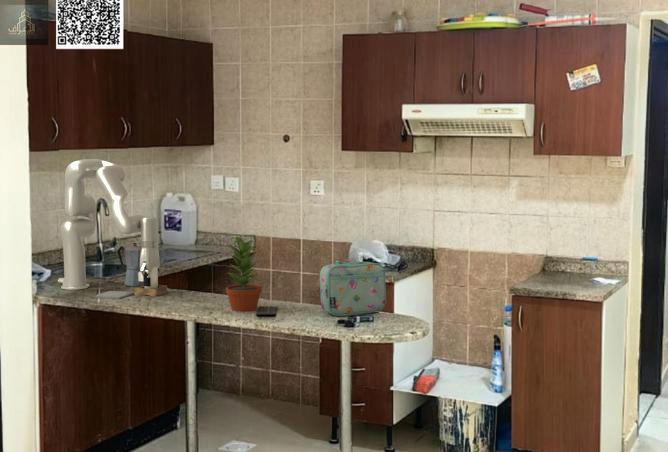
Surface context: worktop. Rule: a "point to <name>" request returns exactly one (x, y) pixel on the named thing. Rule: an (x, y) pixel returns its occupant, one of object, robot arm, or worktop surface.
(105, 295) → the plate
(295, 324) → the worktop surface
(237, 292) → the potted plant
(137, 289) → the holder
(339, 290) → the lunch box
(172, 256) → the worktop surface
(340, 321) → the worktop surface
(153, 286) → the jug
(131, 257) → the moka pot
